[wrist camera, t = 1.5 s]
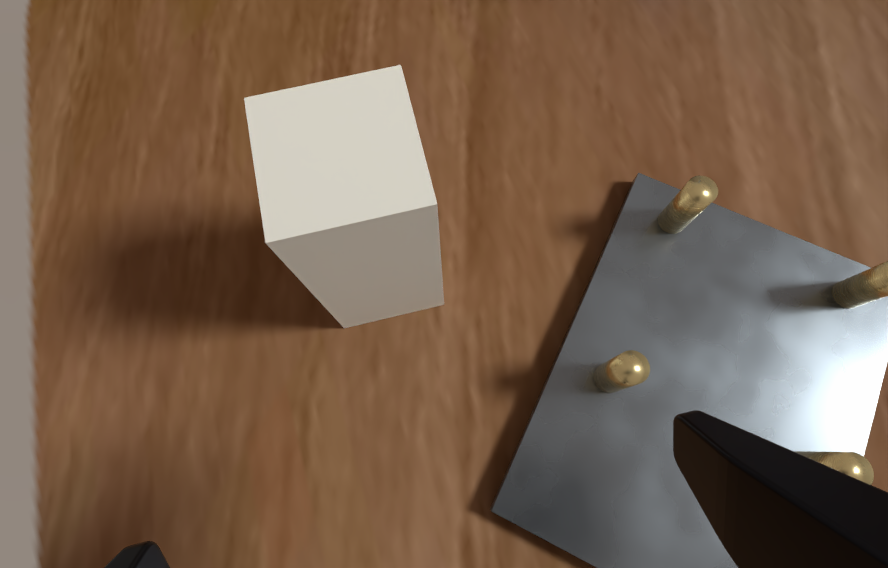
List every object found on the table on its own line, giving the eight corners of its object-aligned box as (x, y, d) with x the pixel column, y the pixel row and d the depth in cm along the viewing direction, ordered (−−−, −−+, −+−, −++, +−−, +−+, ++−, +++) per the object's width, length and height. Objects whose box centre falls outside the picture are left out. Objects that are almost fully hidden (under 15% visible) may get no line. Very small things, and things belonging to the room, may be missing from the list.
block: (444, 304, 23) (437, 204, 14) (344, 328, 23) (265, 243, 13) (421, 214, 24) (400, 64, 15) (326, 235, 24) (243, 98, 15)
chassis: (793, 670, 19) (874, 724, 15) (489, 508, 21) (497, 522, 17) (891, 288, 23) (974, 258, 19) (632, 181, 25) (663, 135, 21)
